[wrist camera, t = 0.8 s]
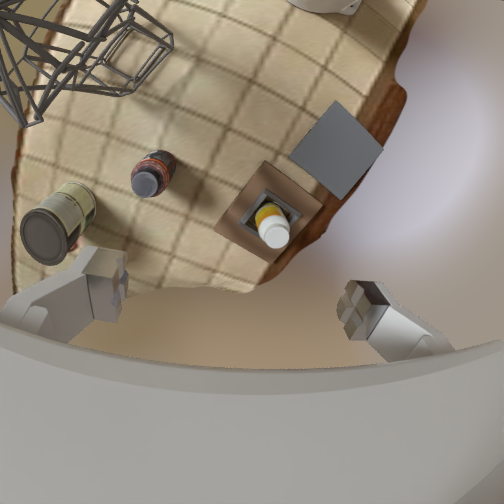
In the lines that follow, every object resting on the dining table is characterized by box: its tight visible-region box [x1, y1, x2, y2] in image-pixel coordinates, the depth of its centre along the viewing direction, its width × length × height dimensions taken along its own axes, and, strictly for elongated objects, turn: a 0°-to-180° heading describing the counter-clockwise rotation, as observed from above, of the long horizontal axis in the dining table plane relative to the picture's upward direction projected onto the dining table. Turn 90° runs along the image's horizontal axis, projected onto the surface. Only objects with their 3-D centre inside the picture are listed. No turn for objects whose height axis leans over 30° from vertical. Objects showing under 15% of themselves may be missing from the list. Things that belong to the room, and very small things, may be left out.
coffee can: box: [20, 182, 96, 266], centre depth 40 cm, size 10×10×14 cm
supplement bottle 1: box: [131, 150, 176, 198], centre depth 40 cm, size 6×6×11 cm
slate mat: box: [289, 101, 384, 200], centre depth 47 cm, size 14×14×1 cm
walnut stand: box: [214, 161, 323, 264], centre depth 51 cm, size 16×14×2 cm
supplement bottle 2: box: [255, 202, 290, 248], centre depth 48 cm, size 5×5×10 cm
